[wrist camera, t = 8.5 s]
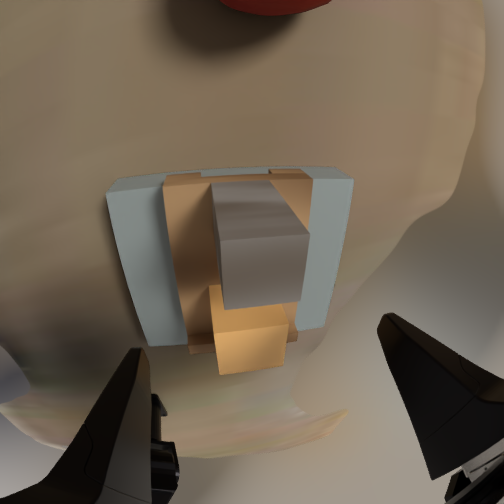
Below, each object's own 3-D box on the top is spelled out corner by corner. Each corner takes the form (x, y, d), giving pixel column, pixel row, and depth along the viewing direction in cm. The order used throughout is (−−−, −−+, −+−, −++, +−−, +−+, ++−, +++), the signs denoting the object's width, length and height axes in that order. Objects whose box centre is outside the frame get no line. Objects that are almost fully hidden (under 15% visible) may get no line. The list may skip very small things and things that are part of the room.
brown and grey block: (285, 312, 23) (317, 395, 16) (188, 323, 22) (193, 414, 15) (300, 168, 16) (371, 230, 10) (166, 175, 15) (142, 247, 8)
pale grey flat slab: (313, 305, 27) (323, 326, 25) (151, 322, 25) (149, 346, 22) (335, 167, 20) (354, 179, 17) (117, 178, 17) (105, 193, 15)
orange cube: (269, 322, 20) (282, 365, 17) (214, 328, 19) (219, 374, 16) (271, 279, 18) (289, 323, 14) (208, 285, 17) (213, 333, 14)
